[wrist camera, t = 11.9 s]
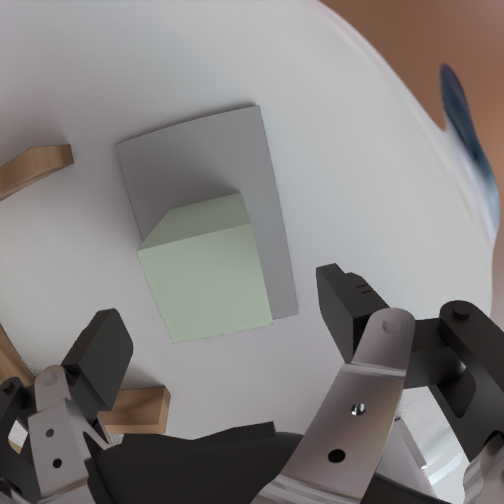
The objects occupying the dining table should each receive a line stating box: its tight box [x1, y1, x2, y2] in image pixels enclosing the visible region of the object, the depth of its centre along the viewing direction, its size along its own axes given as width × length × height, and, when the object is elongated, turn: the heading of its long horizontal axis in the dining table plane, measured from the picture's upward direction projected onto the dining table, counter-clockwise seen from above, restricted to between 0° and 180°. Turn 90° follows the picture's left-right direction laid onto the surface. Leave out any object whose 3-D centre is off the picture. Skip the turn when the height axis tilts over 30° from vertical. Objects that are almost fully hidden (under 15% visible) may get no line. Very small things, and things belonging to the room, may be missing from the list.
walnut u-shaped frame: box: [0, 145, 171, 434], centre depth 19 cm, size 20×25×5 cm
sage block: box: [136, 193, 273, 344], centre depth 16 cm, size 5×5×8 cm
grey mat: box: [116, 106, 299, 320], centre depth 20 cm, size 10×16×1 cm, turn 12°
